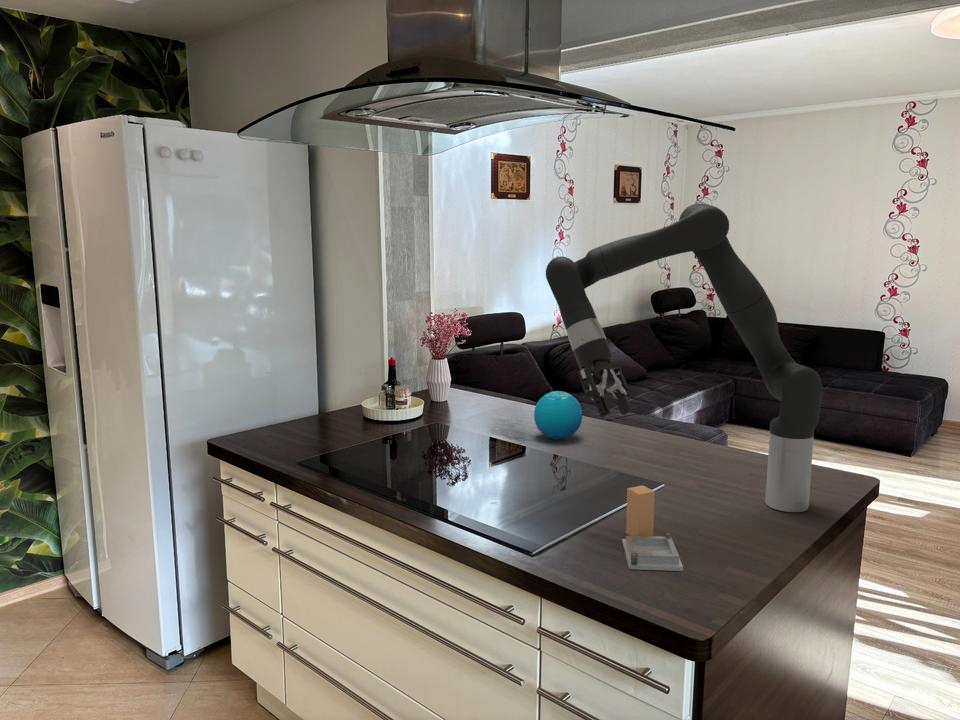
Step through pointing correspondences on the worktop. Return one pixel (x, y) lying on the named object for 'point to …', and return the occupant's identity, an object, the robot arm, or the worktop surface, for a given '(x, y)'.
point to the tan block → (640, 511)
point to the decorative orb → (558, 415)
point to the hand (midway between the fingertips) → (616, 414)
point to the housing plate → (651, 553)
